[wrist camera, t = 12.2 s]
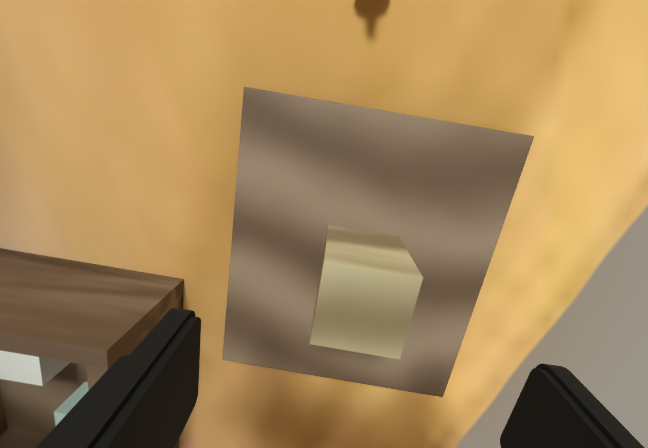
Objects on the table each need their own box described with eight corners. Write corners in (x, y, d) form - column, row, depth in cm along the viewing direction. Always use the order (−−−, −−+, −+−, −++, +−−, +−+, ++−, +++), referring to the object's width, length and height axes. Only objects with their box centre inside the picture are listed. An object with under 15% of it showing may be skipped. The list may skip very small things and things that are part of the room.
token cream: (12, 298, 20) (-32, 321, 18) (71, 308, 20) (35, 332, 18) (20, 348, 21) (-21, 375, 19) (75, 357, 21) (42, 386, 19)
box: (-23, 244, 20) (-200, 298, 14) (183, 279, 20) (106, 350, 14) (10, 424, 25) (-111, 531, 18) (178, 453, 25) (119, 570, 18)
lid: (255, 92, 17) (199, 65, 10) (510, 136, 17) (625, 137, 10) (233, 338, 22) (185, 431, 15) (432, 371, 22) (475, 480, 15)
